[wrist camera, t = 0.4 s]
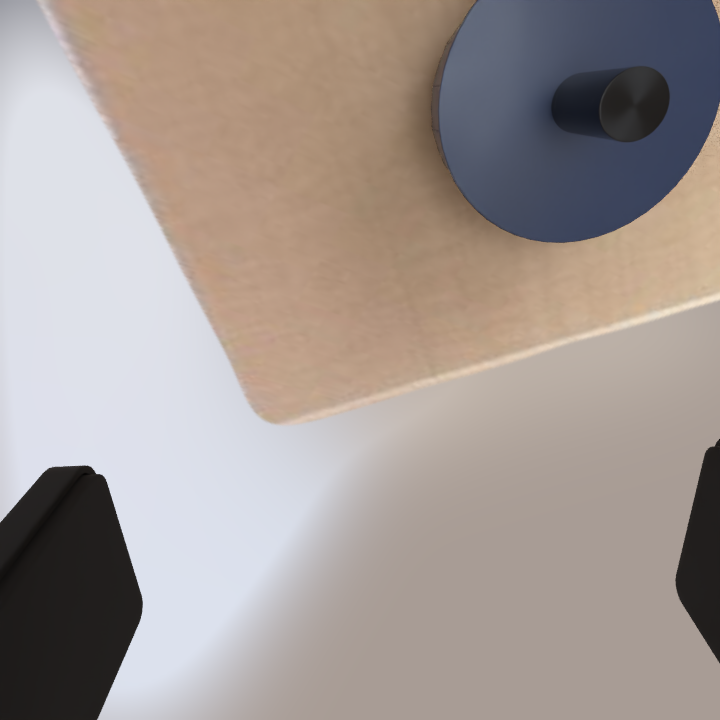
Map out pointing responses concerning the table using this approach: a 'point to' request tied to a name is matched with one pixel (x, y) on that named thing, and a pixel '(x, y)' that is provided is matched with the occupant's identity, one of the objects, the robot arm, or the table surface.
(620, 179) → the lid
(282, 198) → the table surface
